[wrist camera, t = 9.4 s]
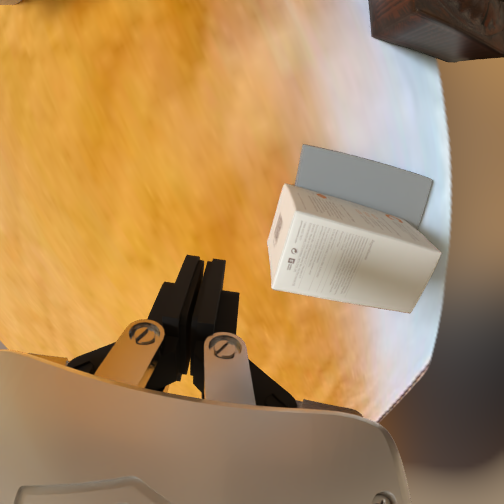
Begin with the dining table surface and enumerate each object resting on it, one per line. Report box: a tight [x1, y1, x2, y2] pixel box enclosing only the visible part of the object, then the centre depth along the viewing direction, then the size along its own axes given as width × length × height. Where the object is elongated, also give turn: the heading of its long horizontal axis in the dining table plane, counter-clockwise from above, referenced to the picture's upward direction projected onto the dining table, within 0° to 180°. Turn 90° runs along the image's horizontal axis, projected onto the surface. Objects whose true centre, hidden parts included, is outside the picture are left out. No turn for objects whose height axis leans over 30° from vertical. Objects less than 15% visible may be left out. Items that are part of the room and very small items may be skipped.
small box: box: [267, 184, 442, 313], centre depth 24 cm, size 8×6×13 cm
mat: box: [278, 144, 432, 291], centre depth 28 cm, size 15×14×1 cm
